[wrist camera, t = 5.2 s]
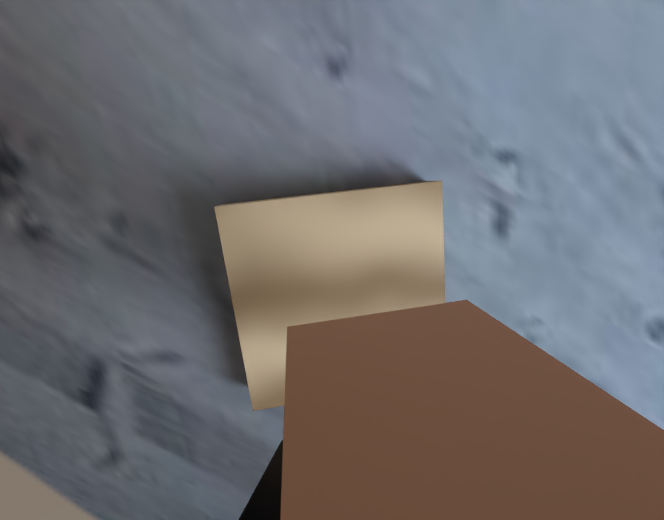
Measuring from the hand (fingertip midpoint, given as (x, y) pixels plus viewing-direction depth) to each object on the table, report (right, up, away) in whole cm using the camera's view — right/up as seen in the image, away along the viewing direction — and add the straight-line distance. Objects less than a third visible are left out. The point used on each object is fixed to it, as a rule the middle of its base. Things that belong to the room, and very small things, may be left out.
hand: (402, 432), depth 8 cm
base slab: (-1, +3, +11) cm, 11 cm away
